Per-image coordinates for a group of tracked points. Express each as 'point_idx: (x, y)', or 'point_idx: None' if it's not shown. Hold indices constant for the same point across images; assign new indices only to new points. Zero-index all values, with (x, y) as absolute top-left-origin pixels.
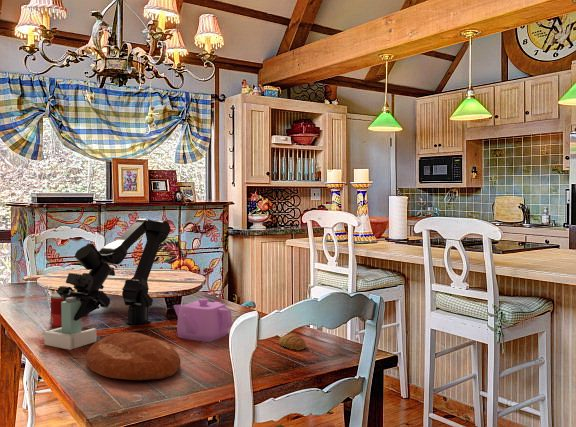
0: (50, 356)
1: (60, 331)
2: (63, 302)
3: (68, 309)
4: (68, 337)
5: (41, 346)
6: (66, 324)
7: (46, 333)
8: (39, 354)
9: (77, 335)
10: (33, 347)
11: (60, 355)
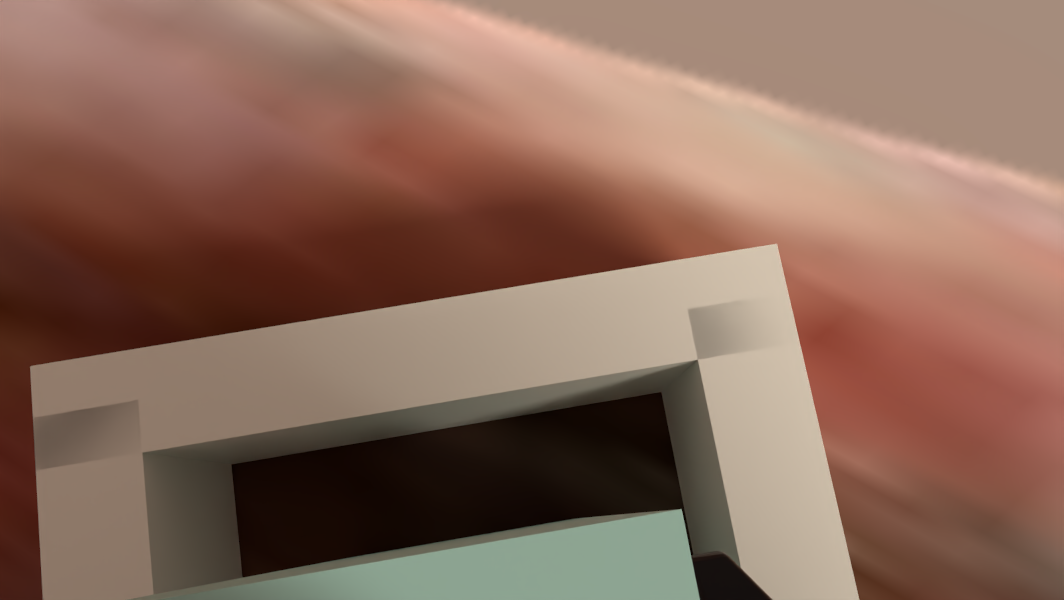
0: (99, 54)
1: None
2: (477, 551)
3: (167, 594)
4: (78, 361)
5: (664, 222)
6: (410, 548)
7: (715, 262)
8: (309, 10)
9: (53, 565)
10: (704, 123)
11: (21, 161)
